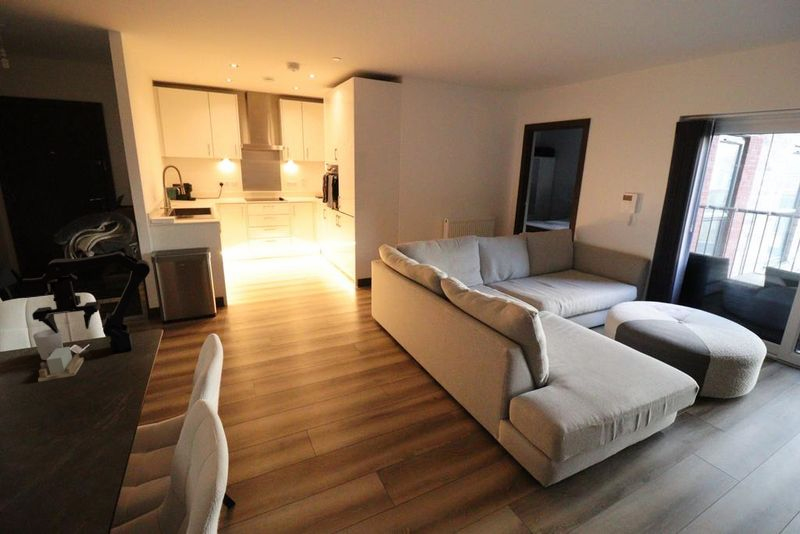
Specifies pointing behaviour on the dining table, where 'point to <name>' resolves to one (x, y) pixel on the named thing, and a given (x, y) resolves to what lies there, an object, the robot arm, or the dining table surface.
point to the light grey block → (59, 360)
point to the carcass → (69, 371)
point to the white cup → (47, 342)
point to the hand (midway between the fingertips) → (72, 330)
